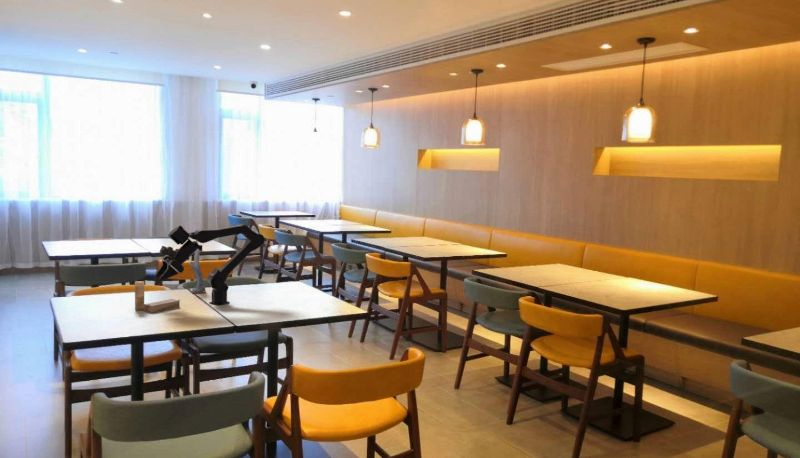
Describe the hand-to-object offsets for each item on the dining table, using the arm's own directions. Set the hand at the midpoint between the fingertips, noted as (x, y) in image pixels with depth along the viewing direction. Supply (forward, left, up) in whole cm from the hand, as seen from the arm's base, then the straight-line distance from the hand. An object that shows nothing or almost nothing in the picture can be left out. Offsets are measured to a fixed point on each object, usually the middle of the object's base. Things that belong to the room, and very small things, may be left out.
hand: (158, 278), depth 248 cm
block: (-2, 0, -13) cm, 13 cm away
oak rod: (+4, +7, -13) cm, 15 cm away
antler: (+16, -35, -13) cm, 40 cm away
